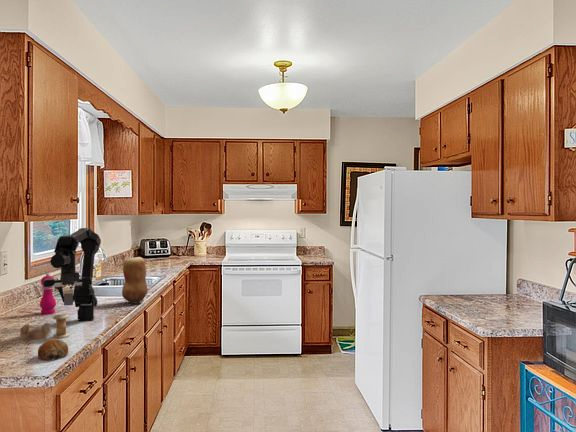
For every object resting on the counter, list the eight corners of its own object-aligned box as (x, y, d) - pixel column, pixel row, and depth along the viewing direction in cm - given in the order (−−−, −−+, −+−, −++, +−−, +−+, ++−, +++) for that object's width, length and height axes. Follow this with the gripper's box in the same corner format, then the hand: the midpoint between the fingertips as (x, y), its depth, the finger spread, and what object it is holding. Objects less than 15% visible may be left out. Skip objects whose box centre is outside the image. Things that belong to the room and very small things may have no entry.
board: (51, 331, 215) (50, 321, 215) (45, 338, 205) (45, 327, 205) (27, 332, 213) (27, 322, 213) (20, 339, 202) (20, 328, 202)
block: (72, 303, 221) (72, 289, 221) (72, 304, 217) (72, 290, 217) (64, 303, 220) (64, 289, 220) (63, 305, 216) (63, 291, 216)
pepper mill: (51, 311, 256) (51, 271, 256) (58, 313, 252) (58, 272, 251) (37, 313, 251) (36, 272, 250) (44, 315, 246) (43, 274, 246)
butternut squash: (118, 302, 279) (118, 256, 279) (142, 299, 287) (142, 255, 287) (127, 306, 268) (127, 259, 268) (152, 303, 276) (152, 257, 276)
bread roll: (70, 363, 184) (74, 341, 187) (60, 359, 175) (64, 335, 178) (42, 364, 184) (46, 341, 187) (30, 359, 174) (35, 335, 178)
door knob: (70, 334, 211) (70, 313, 211) (67, 337, 205) (67, 317, 205) (54, 335, 210) (54, 314, 209) (51, 338, 204) (51, 317, 204)
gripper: (42, 268, 207) (43, 307, 207) (92, 266, 214) (92, 303, 215) (44, 265, 217) (44, 302, 218) (91, 263, 225) (91, 299, 225)
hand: (68, 301), depth 218 cm, fingers closed on block, 3 cm apart
